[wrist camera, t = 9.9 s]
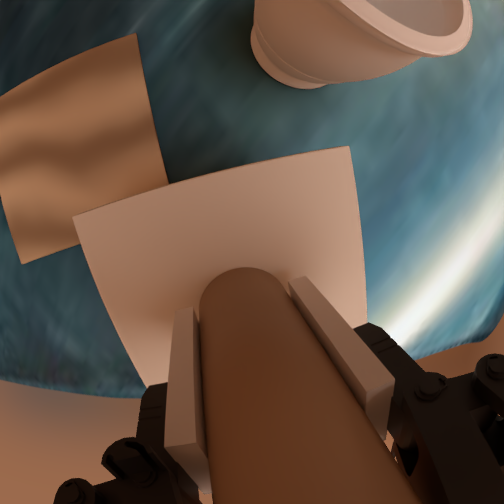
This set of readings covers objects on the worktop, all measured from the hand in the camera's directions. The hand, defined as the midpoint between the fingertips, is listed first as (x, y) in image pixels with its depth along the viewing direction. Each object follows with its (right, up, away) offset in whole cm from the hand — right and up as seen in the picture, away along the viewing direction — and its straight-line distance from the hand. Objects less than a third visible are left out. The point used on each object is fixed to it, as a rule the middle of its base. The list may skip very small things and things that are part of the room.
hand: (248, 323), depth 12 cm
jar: (+4, +20, +9) cm, 23 cm away
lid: (0, +1, +2) cm, 2 cm away
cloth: (-15, +11, +8) cm, 21 cm away
